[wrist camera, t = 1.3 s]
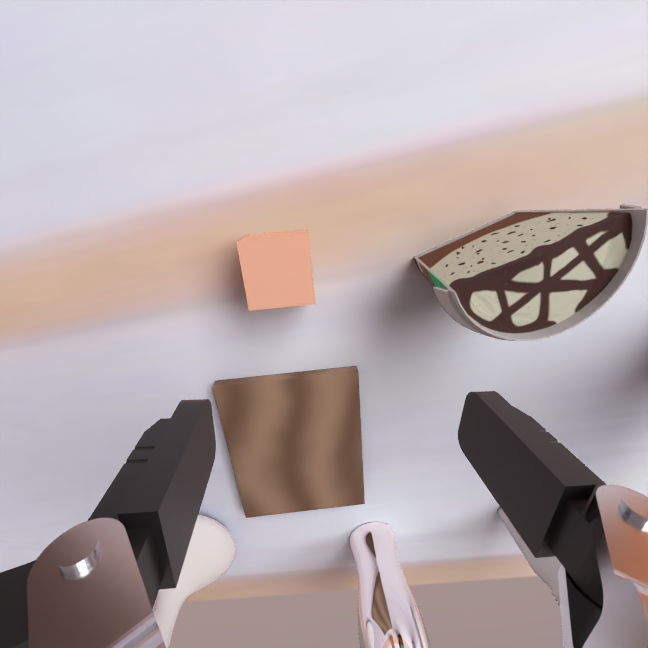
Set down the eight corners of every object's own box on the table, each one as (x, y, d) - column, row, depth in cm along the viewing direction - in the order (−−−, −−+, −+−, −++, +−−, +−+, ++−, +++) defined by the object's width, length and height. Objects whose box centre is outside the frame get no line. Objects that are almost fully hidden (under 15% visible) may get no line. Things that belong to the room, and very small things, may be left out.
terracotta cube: (307, 229, 26) (308, 235, 21) (313, 286, 28) (315, 304, 23) (248, 234, 26) (236, 242, 21) (257, 292, 28) (248, 310, 23)
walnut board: (356, 365, 31) (358, 372, 30) (362, 494, 38) (364, 503, 37) (216, 380, 31) (212, 387, 30) (247, 508, 37) (246, 517, 36)
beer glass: (365, 512, 39) (399, 685, 25) (408, 529, 41) (463, 699, 27) (336, 545, 41) (353, 723, 27) (378, 560, 43) (415, 734, 29)
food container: (418, 322, 30) (470, 377, 20) (397, 264, 28) (445, 296, 18) (544, 268, 29) (660, 301, 19) (533, 203, 26) (658, 204, 17)
